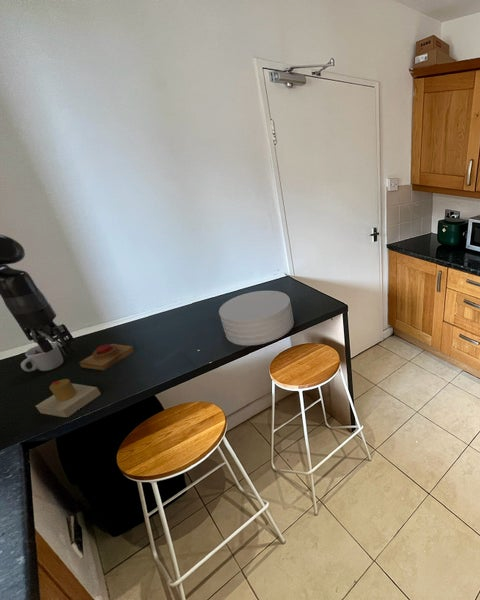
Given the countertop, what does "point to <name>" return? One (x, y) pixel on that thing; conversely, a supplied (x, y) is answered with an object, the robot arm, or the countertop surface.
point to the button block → (107, 357)
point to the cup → (43, 358)
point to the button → (104, 349)
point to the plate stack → (257, 317)
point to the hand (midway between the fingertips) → (59, 352)
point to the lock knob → (63, 389)
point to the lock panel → (69, 402)
